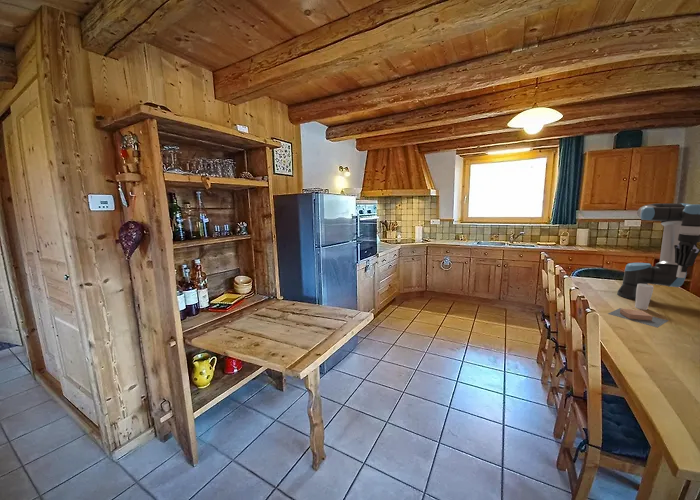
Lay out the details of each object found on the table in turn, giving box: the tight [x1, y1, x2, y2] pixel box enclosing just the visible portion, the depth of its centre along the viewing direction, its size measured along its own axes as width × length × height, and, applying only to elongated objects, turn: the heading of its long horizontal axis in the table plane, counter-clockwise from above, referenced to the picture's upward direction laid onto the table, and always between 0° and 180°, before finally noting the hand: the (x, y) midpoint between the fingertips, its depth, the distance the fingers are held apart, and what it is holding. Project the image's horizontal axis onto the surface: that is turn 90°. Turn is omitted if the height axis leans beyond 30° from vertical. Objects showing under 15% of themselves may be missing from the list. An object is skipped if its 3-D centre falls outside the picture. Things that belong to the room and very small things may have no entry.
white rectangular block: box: [634, 284, 654, 311], centre depth 166 cm, size 7×7×15 cm
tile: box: [620, 308, 654, 321], centre depth 154 cm, size 3×8×10 cm
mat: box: [607, 308, 669, 328], centre depth 155 cm, size 17×20×1 cm
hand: (680, 277), depth 150 cm, fingers closed
